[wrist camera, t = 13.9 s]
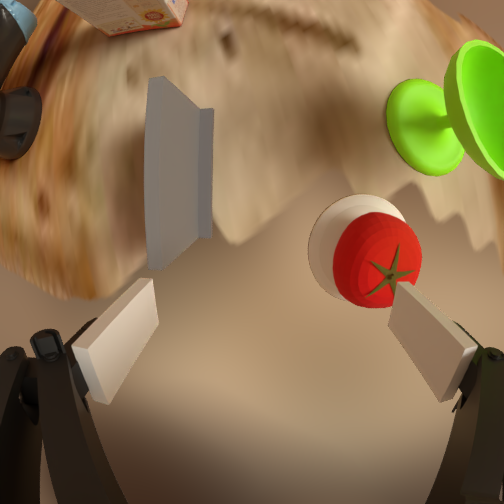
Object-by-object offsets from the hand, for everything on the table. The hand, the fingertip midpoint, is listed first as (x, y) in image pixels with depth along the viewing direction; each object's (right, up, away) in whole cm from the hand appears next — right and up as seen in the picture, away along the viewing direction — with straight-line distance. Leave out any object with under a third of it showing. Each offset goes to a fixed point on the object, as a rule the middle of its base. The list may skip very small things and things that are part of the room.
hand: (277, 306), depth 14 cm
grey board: (-9, +14, +23) cm, 28 cm away
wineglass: (+26, +22, +19) cm, 39 cm away
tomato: (+15, +3, +24) cm, 28 cm away
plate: (+15, +3, +24) cm, 29 cm away
